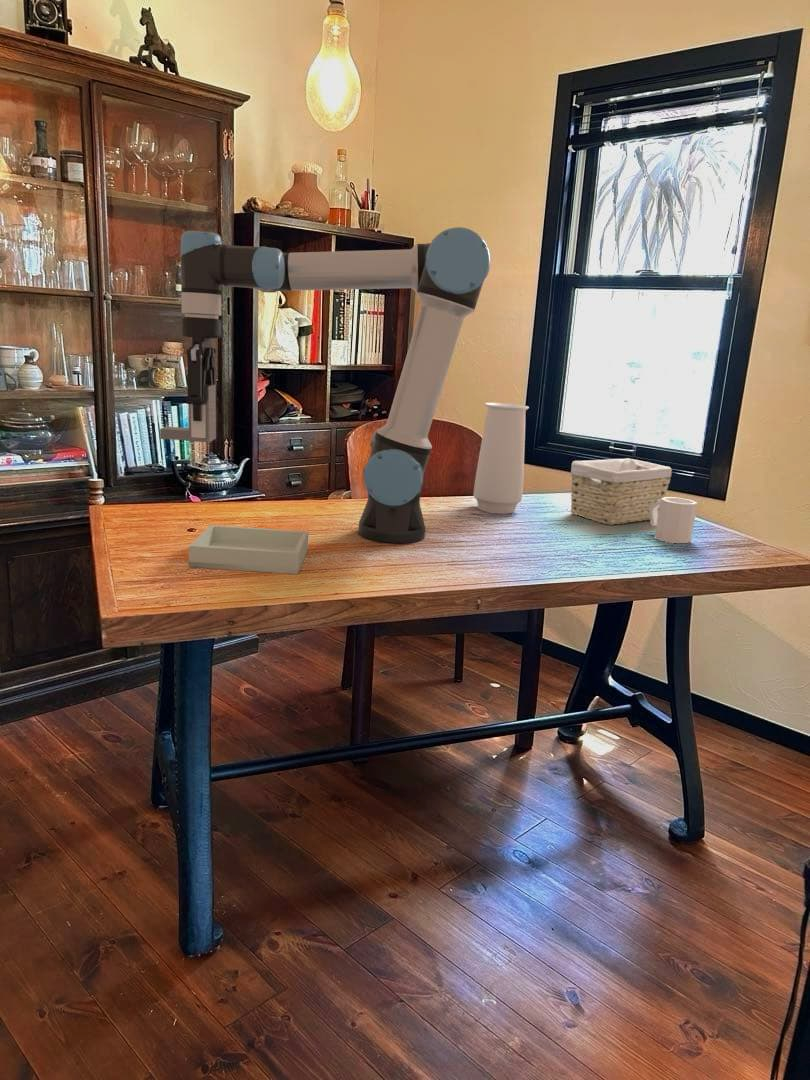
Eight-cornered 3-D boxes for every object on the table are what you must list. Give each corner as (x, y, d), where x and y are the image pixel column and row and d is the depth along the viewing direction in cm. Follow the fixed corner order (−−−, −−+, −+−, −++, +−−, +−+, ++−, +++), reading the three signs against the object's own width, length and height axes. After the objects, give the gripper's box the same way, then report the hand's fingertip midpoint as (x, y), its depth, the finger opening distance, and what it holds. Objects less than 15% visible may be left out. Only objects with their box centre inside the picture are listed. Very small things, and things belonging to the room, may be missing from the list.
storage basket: (607, 527, 197) (615, 470, 193) (562, 513, 210) (568, 459, 206) (667, 520, 210) (675, 467, 206) (620, 507, 223) (628, 457, 219)
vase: (473, 502, 215) (483, 401, 207) (520, 507, 213) (531, 405, 206) (470, 512, 202) (481, 405, 195) (520, 517, 201) (532, 409, 193)
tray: (307, 550, 157) (308, 531, 156) (297, 574, 142) (298, 553, 141) (209, 543, 157) (209, 524, 156) (188, 567, 141) (188, 546, 140)
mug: (697, 542, 188) (704, 503, 185) (674, 545, 183) (681, 505, 181) (658, 530, 197) (664, 493, 195) (635, 533, 193) (641, 494, 190)
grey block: (216, 438, 159) (215, 384, 156) (209, 442, 153) (208, 386, 150) (167, 435, 159) (166, 381, 156) (158, 439, 153) (157, 383, 150)
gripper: (194, 316, 159) (196, 428, 165) (168, 314, 141) (170, 440, 147) (231, 318, 159) (231, 430, 165) (209, 316, 141) (210, 442, 147)
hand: (202, 435), depth 156 cm, fingers closed on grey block, 6 cm apart
